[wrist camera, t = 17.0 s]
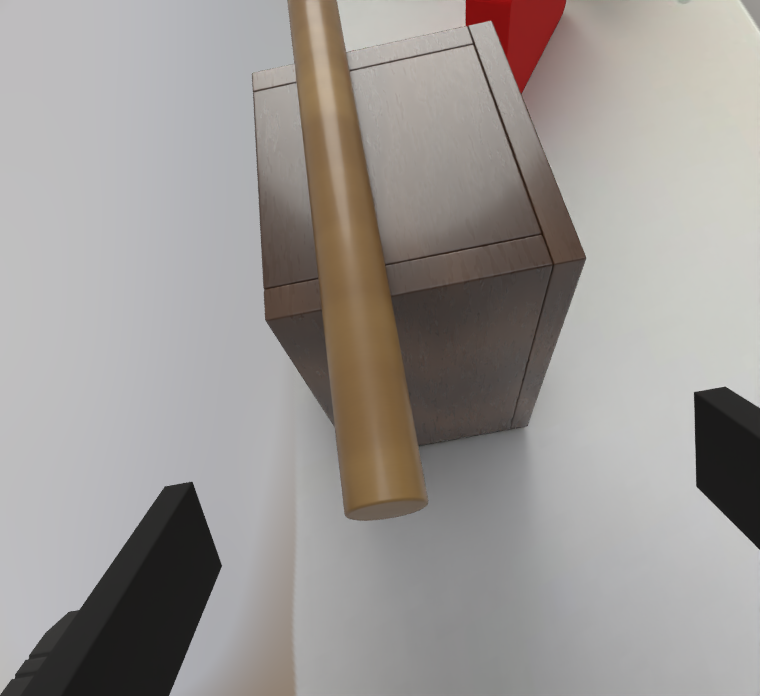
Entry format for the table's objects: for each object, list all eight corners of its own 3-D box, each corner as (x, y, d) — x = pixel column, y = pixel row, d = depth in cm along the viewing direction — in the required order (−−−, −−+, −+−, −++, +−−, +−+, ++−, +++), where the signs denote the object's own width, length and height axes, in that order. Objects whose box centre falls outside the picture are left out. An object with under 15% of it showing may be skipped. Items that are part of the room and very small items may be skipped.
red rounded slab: (530, 5, 47) (545, -137, 38) (564, 10, 46) (587, -134, 37) (465, 123, 42) (464, -10, 33) (501, 131, 41) (511, -3, 32)
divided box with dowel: (562, 546, 27) (369, 579, 28) (458, 183, 39) (323, 211, 39) (704, 446, 12) (249, 526, 12) (458, -118, 23) (230, -65, 24)
